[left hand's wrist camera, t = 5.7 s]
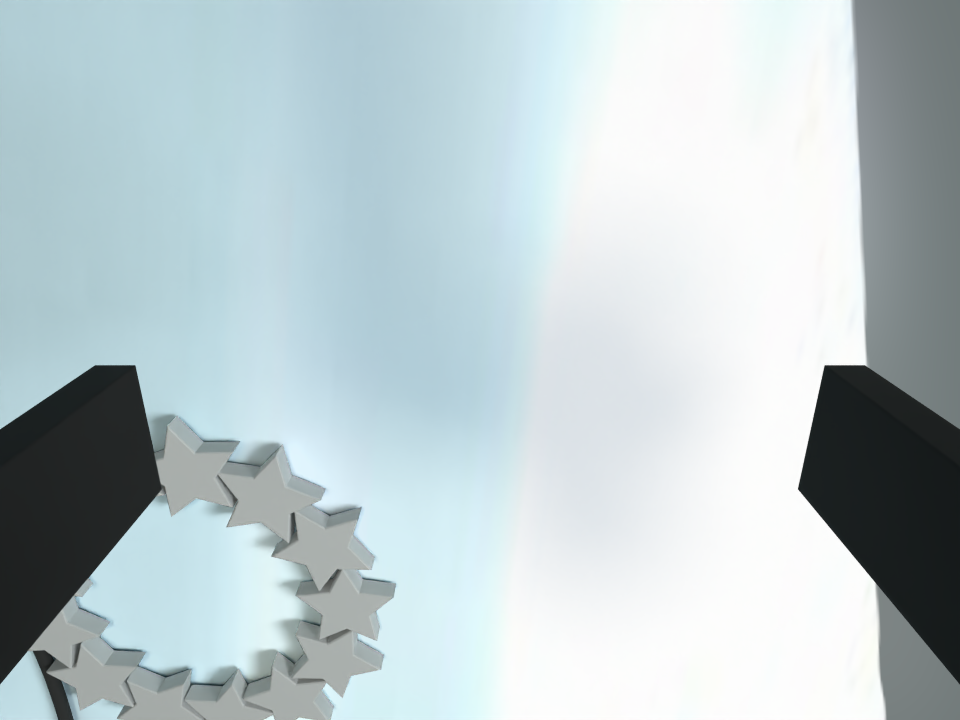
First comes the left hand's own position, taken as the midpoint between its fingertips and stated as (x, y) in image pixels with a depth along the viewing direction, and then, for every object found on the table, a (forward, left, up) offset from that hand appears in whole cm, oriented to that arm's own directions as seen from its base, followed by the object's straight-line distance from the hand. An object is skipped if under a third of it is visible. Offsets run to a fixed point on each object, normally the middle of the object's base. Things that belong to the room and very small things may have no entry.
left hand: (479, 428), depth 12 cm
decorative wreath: (+29, -21, -28) cm, 45 cm away
